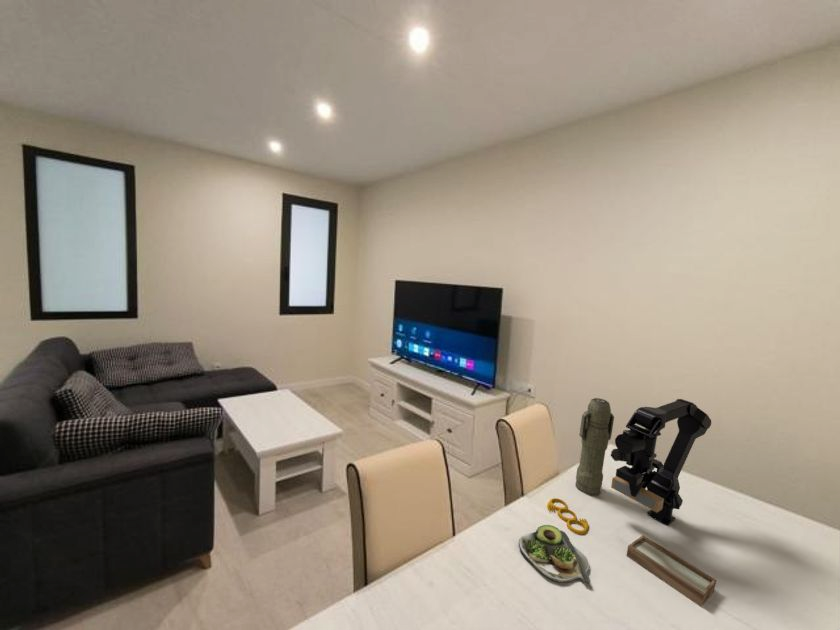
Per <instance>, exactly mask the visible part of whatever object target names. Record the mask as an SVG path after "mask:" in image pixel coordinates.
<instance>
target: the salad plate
mask: <svg viewBox="0 0 840 630" xmlns="http://www.w3.org/2000/svg"><path fill="white" fill-rule="evenodd" d="M518 548H519V550H520V552H521V553H522V555H523V557H524V558H525V559H526V560H528V561H529V562H530V563H531V565H533V566H534V568H536V569H537V570H538V571H539V572H541V573H542V574H543V576H545V577H547V578H549V579H550V580H554V581H556V582H560V583H569V582H572V581H574V580H576V579H577V580H578V579H581V580H583V582H585V583H587V584H591V581H592V580H591V578H590V577H589V575H588V573H587V572H588V571H589V568H590V567H589V566H590V563H589V559H588V557H587V556H586V555H585V554H584V553H583V552H582V551H580V550H579V549H578V548H577V547H576V546H575V545H574V544H572V542H571V541H570V537H569V536H568V535H567V533H566V532H565V531H563V530H561V529H559V528H558V527H556V526H554V525H552V524H544V525H543V524H542V525H541V526H539V527H537V529H536V530H535V531H533V532H531V533H527V534H525V535H522V536H520V537H519V539H518ZM537 562H538V563H537ZM539 563H547V564H550V565H552V566H554V567H555V568H556V569H557V570H559V572H558V574H556V573H553V572H550V571H548V570H546V569H545V568H543V567H542V566H541V565H540V564H539Z"/></svg>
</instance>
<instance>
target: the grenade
mask: <svg viewBox="0 0 840 630" xmlns="http://www.w3.org/2000/svg"><path fill="white" fill-rule="evenodd" d="M614 421H615V416H614V414H613V413H612V409H611V405H610V402H609V401H608V400H606V399H603V398H598V397H596V398H595V397H594V398H591V399H590V401H589V403H588V405H587V410H586V411H584V412H583V413H582V415H581V421H580V426H579V427H580V428H579V436H580V438H581V451H580V456H579V457H580V459H579V463H578V464H579V465H578V467H576V468H577V469H576V475H575V480H576V481H575V487H576V489H577V490H578V491H580V492H581V493H583V494H585V495H589V496H599V495H600V494H601V489H602V486H603V480H604V474H603V469H604V463H605V455H606V451H607V449H608V445H609V441H610V440H611V438H612V433H613V429H614V428H613V427H614Z"/></svg>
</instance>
